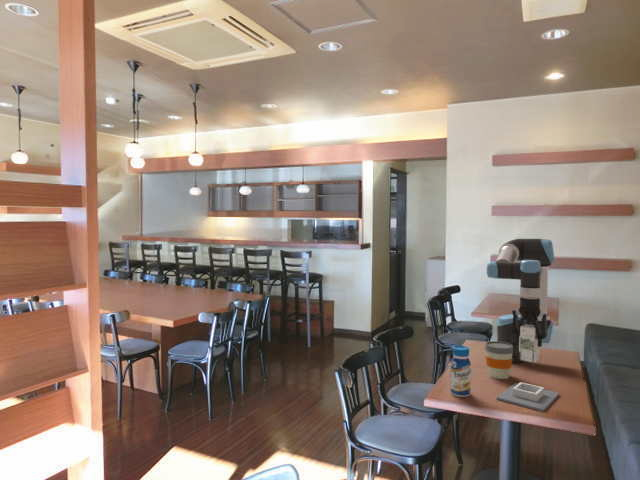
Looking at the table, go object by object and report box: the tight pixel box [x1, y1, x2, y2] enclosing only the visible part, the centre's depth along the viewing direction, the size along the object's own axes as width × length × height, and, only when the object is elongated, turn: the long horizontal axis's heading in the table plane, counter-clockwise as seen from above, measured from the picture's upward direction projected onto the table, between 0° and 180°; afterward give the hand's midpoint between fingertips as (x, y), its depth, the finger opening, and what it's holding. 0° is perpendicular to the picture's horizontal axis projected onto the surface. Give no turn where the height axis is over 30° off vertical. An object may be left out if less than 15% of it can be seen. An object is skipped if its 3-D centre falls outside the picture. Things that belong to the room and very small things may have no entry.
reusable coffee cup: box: [484, 340, 513, 380], centre depth 213 cm, size 13×12×15 cm
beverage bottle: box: [449, 345, 472, 398], centre depth 192 cm, size 8×8×20 cm
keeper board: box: [496, 381, 560, 413], centre depth 188 cm, size 22×18×4 cm
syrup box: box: [520, 325, 539, 364], centre depth 187 cm, size 6×6×14 cm
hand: (529, 352), depth 187 cm, fingers closed on syrup box, 6 cm apart
